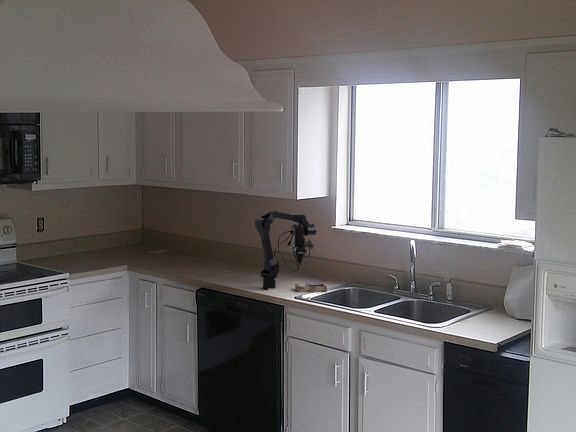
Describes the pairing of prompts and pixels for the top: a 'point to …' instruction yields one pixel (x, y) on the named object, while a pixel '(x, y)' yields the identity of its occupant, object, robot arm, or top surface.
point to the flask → (314, 284)
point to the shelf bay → (311, 288)
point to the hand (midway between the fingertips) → (298, 263)
